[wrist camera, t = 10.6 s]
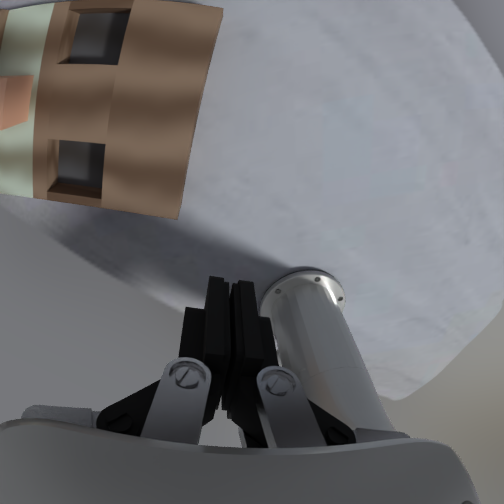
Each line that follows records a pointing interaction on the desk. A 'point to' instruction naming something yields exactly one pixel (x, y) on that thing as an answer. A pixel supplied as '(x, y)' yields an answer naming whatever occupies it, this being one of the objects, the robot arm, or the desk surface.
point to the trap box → (106, 100)
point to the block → (14, 99)
